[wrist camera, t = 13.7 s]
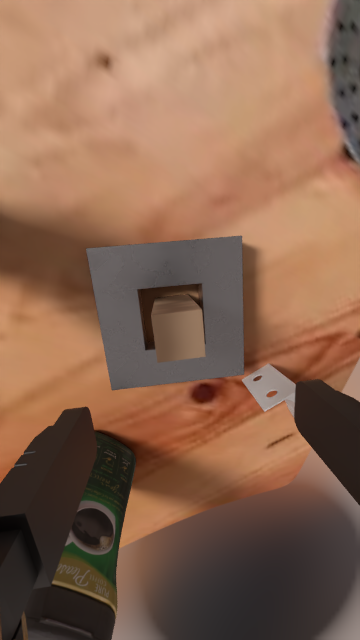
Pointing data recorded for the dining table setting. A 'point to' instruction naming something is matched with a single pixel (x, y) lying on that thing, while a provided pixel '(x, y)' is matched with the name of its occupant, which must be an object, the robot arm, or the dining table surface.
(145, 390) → the dining table surface
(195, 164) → the dining table surface
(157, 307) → the tan square peg
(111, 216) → the dining table surface
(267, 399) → the bracket
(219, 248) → the square hole plate
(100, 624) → the coffee jar
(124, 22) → the dining table surface
